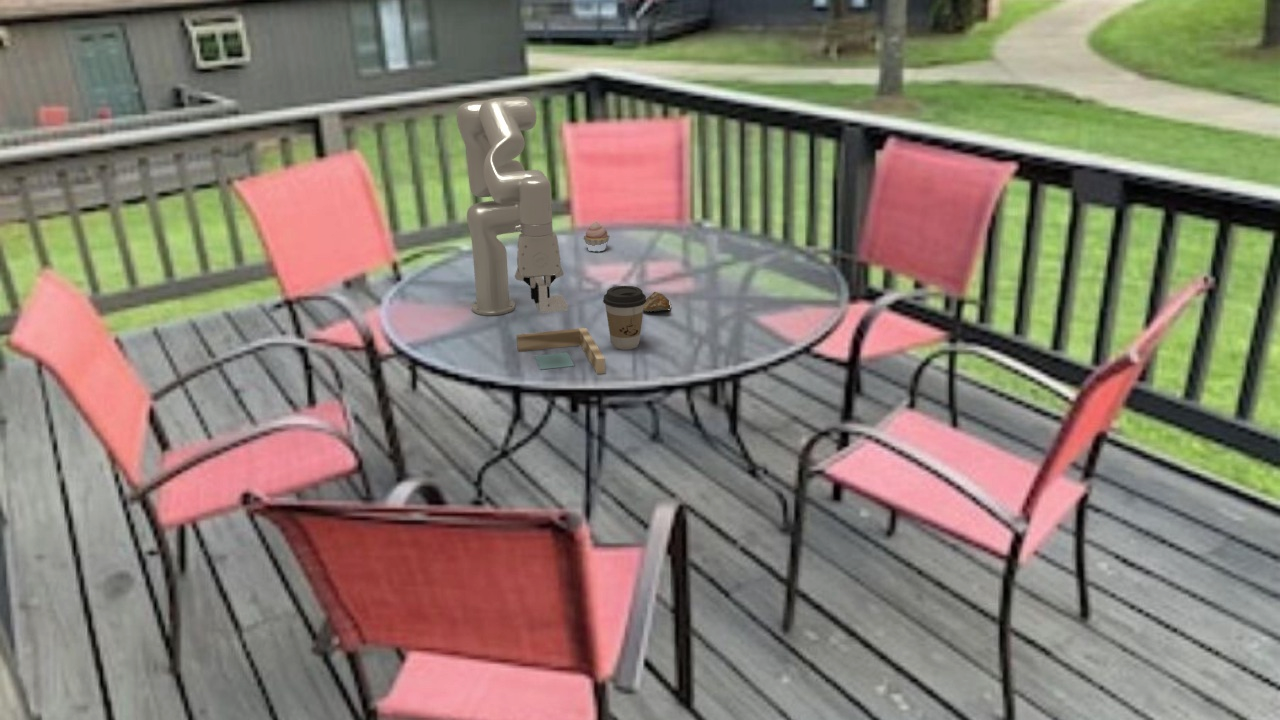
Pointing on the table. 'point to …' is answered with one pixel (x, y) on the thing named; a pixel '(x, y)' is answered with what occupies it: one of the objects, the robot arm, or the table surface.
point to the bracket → (548, 299)
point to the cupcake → (596, 235)
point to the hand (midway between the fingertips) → (540, 300)
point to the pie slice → (656, 302)
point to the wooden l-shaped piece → (564, 344)
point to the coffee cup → (624, 315)
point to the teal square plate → (554, 361)
